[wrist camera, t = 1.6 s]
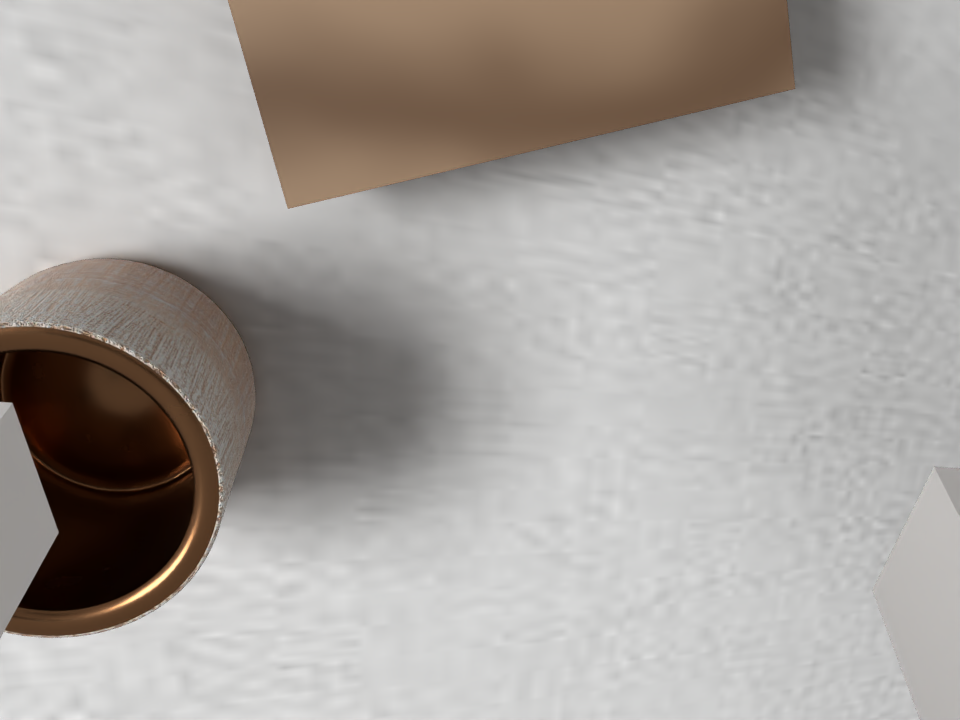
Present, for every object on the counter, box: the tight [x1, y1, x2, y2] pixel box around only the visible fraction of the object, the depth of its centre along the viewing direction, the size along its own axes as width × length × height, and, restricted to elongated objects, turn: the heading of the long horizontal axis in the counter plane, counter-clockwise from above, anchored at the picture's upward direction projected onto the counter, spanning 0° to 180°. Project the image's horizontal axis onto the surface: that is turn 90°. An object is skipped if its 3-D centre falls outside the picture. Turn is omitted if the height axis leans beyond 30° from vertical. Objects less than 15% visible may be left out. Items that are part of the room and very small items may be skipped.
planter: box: [0, 259, 255, 638], centre depth 32 cm, size 11×11×10 cm
